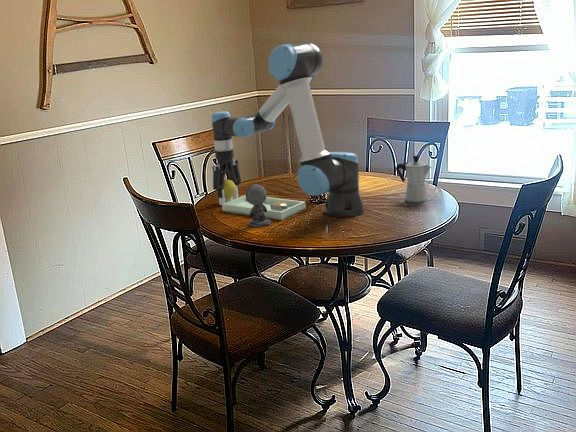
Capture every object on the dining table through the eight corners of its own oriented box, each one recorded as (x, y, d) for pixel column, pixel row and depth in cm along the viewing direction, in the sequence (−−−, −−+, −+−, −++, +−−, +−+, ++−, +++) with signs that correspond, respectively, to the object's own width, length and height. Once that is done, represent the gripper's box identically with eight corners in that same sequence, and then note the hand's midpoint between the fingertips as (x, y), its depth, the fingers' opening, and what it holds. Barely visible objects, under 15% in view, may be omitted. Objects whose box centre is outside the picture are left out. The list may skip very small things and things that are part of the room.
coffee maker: (435, 198, 234) (435, 154, 229) (427, 204, 227) (427, 158, 222) (400, 195, 242) (400, 152, 237) (391, 200, 235) (391, 156, 230)
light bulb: (234, 204, 245) (232, 181, 242) (219, 205, 246) (216, 182, 243) (238, 200, 251) (236, 178, 248) (224, 200, 252) (221, 178, 249)
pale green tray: (305, 209, 232) (305, 201, 231) (282, 220, 219) (281, 212, 219) (247, 201, 249) (246, 194, 248) (222, 211, 237) (221, 204, 236)
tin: (291, 209, 230) (291, 202, 229) (281, 213, 225) (281, 207, 224) (277, 207, 234) (277, 200, 233) (267, 211, 229) (266, 205, 228)
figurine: (257, 218, 223) (254, 180, 219) (277, 222, 217) (274, 183, 213) (241, 225, 217) (238, 186, 213) (261, 228, 211) (258, 188, 207)
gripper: (233, 144, 252) (238, 195, 258) (200, 153, 236) (206, 207, 243) (246, 145, 248) (251, 197, 254) (213, 154, 232) (219, 209, 238)
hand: (229, 202), depth 248 cm, fingers open, 8 cm apart
